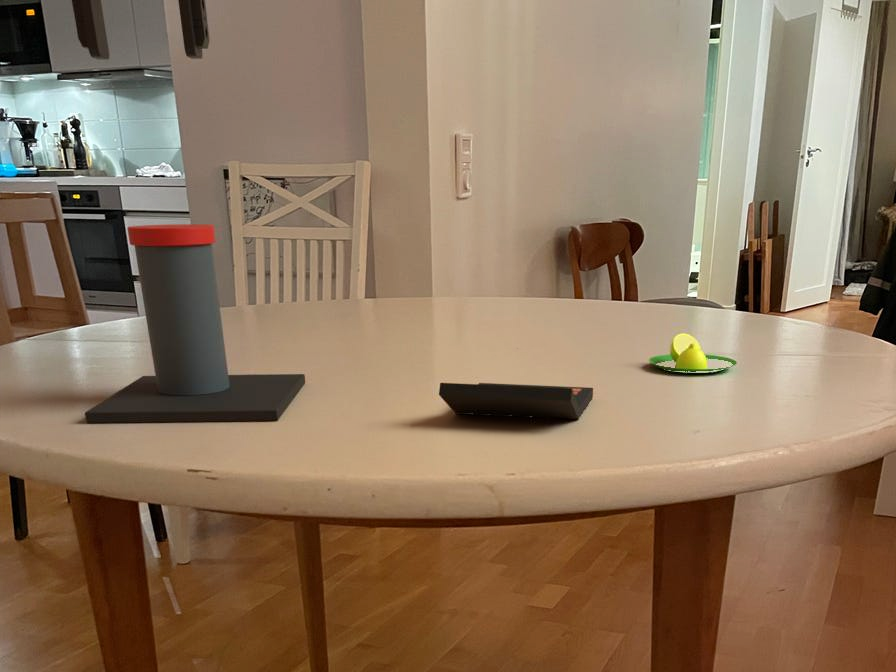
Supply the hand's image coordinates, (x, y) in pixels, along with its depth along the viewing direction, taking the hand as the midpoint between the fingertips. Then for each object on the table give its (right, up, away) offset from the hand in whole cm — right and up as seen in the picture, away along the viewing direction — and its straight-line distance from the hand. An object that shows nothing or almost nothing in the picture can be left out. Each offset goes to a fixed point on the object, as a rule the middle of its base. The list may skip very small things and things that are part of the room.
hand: (146, 56), depth 64 cm
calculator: (+26, -24, +6) cm, 36 cm away
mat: (+1, -22, +10) cm, 24 cm away
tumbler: (0, -20, +10) cm, 23 cm away
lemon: (+43, -16, +21) cm, 50 cm away
